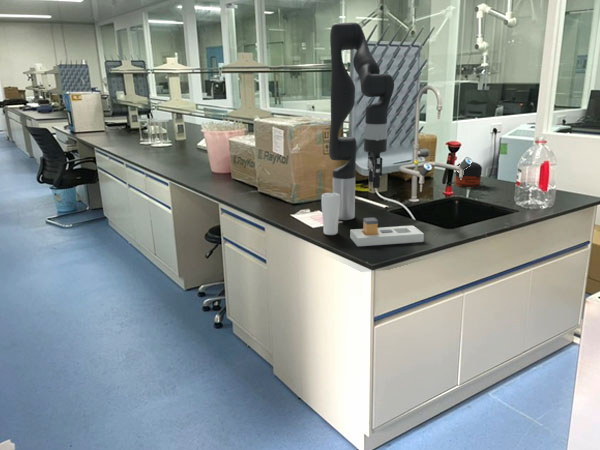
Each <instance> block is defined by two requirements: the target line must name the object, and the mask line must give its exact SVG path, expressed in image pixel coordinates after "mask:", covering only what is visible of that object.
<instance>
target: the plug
mask: <svg viewBox="0 0 600 450" xmlns="http://www.w3.org/2000/svg"><path fill="white" fill-rule="evenodd" d="M378 226H379V220H378V219H377V218H376V217H363V226H362V227H363V228H362V229H363V233H364V235H377V232H378V228H379V227H378Z"/></svg>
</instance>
